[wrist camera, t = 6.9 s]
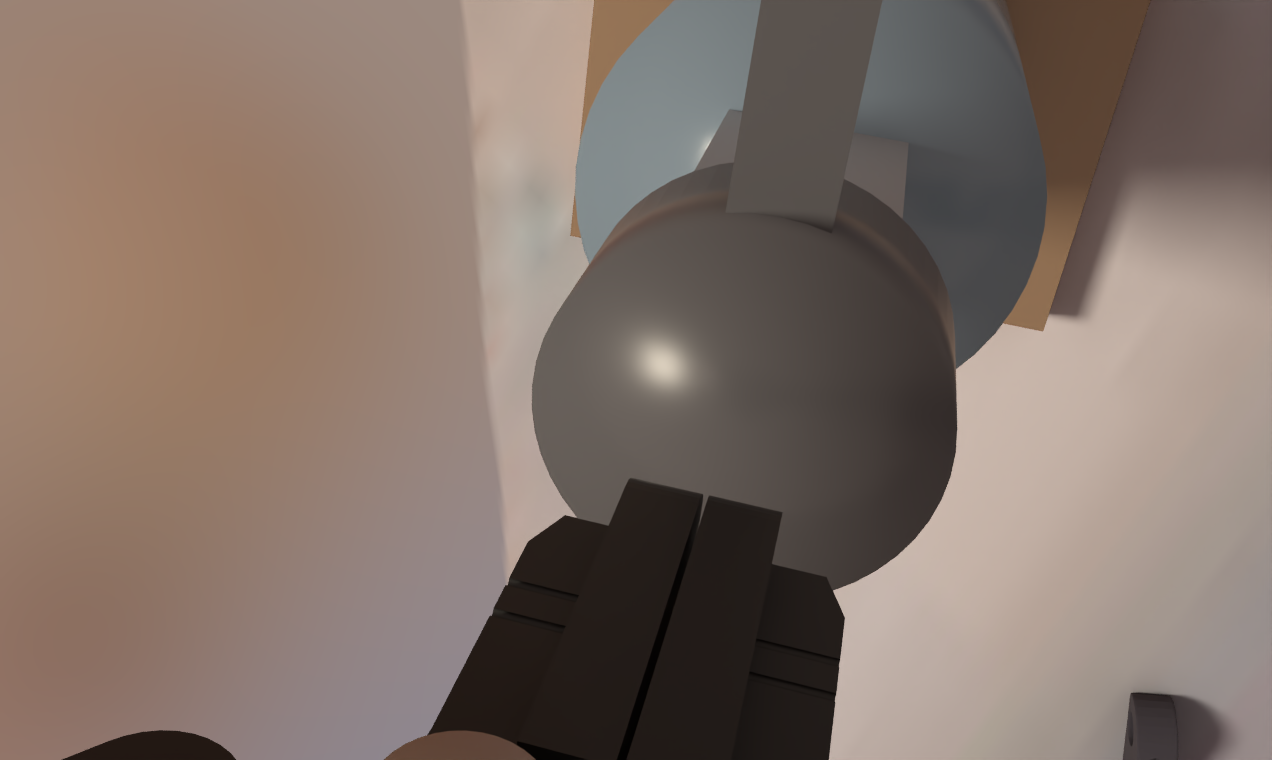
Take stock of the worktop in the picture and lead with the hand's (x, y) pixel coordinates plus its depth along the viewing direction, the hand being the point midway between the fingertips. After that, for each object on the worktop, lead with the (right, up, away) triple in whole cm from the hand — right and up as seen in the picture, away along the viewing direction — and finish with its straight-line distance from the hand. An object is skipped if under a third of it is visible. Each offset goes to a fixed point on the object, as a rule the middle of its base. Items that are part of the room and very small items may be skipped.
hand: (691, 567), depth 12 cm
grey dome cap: (+2, +6, +8) cm, 10 cm away
